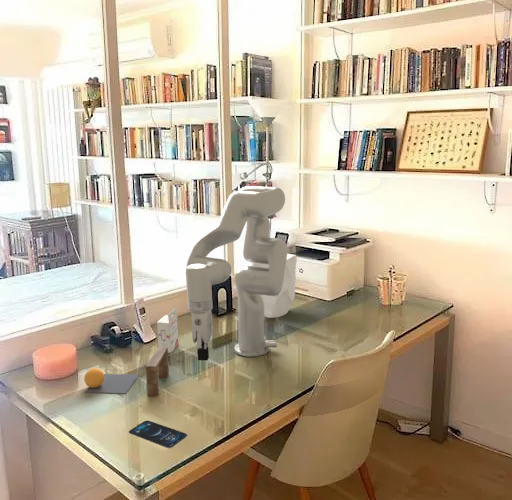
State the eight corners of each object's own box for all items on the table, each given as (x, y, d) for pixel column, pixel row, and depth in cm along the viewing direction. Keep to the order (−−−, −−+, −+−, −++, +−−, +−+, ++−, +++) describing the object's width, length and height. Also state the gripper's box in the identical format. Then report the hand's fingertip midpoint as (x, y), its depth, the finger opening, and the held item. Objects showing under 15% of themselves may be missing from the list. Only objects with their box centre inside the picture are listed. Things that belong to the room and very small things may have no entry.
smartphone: (146, 419, 151) (188, 434, 143) (146, 421, 151) (188, 436, 143) (126, 432, 144) (169, 448, 136) (126, 434, 144) (169, 450, 136)
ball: (101, 386, 173) (110, 371, 172) (94, 394, 167) (103, 379, 166) (85, 376, 173) (94, 361, 172) (77, 384, 167) (86, 369, 166)
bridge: (168, 374, 179) (167, 347, 177) (157, 396, 164) (155, 366, 162) (159, 374, 179) (158, 347, 177) (147, 396, 164) (145, 366, 162)
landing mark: (138, 375, 178) (138, 374, 178) (125, 393, 166) (125, 393, 166) (99, 374, 179) (99, 373, 179) (84, 392, 167) (84, 391, 167)
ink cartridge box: (166, 343, 206) (164, 306, 202) (178, 344, 205) (177, 307, 201) (157, 352, 197) (156, 314, 194) (170, 353, 196) (169, 314, 193)
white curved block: (279, 321, 229) (280, 262, 223) (231, 309, 245) (230, 254, 240) (307, 309, 245) (307, 254, 240) (260, 298, 261) (259, 246, 256)
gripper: (208, 313, 157) (211, 370, 162) (216, 296, 172) (218, 349, 176) (183, 313, 158) (186, 370, 163) (192, 296, 172) (196, 349, 177)
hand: (203, 359), depth 169 cm, fingers closed
